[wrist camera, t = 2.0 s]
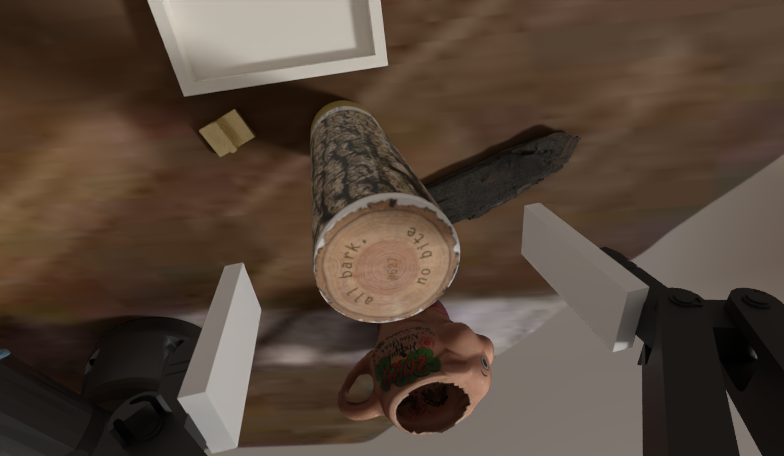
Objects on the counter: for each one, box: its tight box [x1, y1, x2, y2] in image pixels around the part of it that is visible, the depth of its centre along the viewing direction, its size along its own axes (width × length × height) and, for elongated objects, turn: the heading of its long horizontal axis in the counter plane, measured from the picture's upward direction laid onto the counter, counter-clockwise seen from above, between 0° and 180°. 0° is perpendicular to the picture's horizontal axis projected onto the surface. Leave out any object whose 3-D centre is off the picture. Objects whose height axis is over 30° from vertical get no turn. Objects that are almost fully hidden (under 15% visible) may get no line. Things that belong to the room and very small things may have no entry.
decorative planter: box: [338, 300, 494, 435], centre depth 47 cm, size 20×12×14 cm, turn 111°
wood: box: [425, 132, 581, 224], centre depth 44 cm, size 22×7×3 cm, turn 111°
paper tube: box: [310, 100, 460, 323], centre depth 28 cm, size 7×7×25 cm
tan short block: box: [199, 108, 256, 157], centre depth 35 cm, size 4×3×3 cm
